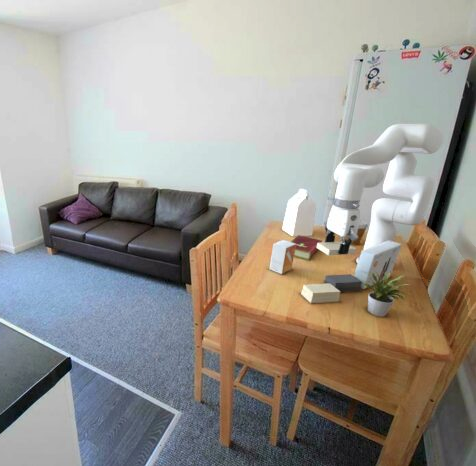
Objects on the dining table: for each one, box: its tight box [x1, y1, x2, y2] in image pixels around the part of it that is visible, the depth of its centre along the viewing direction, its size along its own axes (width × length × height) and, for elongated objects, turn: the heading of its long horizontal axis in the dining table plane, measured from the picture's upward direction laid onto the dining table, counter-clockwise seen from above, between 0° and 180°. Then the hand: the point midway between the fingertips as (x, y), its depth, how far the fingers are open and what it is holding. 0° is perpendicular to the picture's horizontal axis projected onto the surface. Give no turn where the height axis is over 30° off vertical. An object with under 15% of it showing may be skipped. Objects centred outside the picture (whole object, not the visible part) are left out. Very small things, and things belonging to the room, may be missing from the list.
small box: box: [269, 239, 296, 275], centre depth 141 cm, size 8×6×13 cm
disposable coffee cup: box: [345, 219, 369, 246], centre depth 166 cm, size 10×10×12 cm
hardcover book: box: [290, 235, 323, 261], centre depth 161 cm, size 12×21×4 cm, turn 135°
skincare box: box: [353, 240, 403, 290], centre depth 128 cm, size 21×6×16 cm, turn 118°
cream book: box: [317, 241, 357, 256], centre depth 115 cm, size 10×7×2 cm
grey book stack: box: [322, 273, 362, 293], centre depth 126 cm, size 11×6×4 cm, turn 93°
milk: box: [281, 188, 317, 237], centre depth 180 cm, size 12×12×26 cm
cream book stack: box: [300, 283, 341, 304], centre depth 120 cm, size 11×6×4 cm, turn 93°
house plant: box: [359, 270, 410, 317], centre depth 108 cm, size 14×14×16 cm
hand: (335, 249), depth 115 cm, fingers closed on cream book, 7 cm apart
